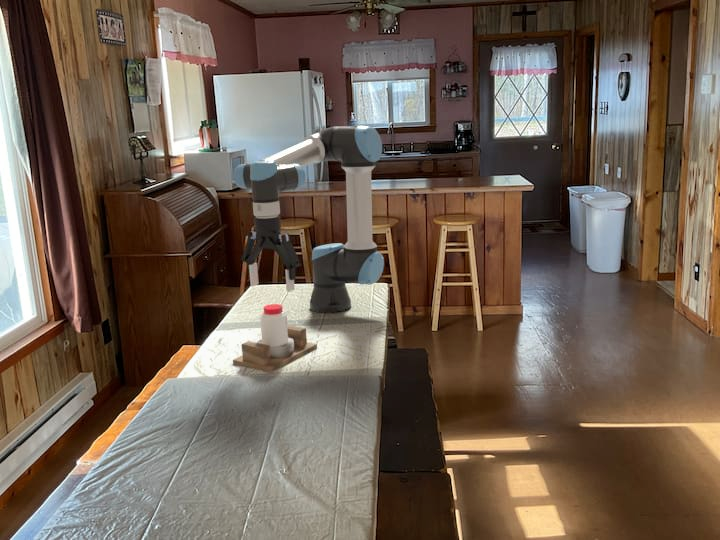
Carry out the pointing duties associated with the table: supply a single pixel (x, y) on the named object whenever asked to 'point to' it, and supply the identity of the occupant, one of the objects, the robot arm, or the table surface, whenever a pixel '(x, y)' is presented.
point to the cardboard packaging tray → (275, 351)
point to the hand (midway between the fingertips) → (272, 288)
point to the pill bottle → (274, 326)
